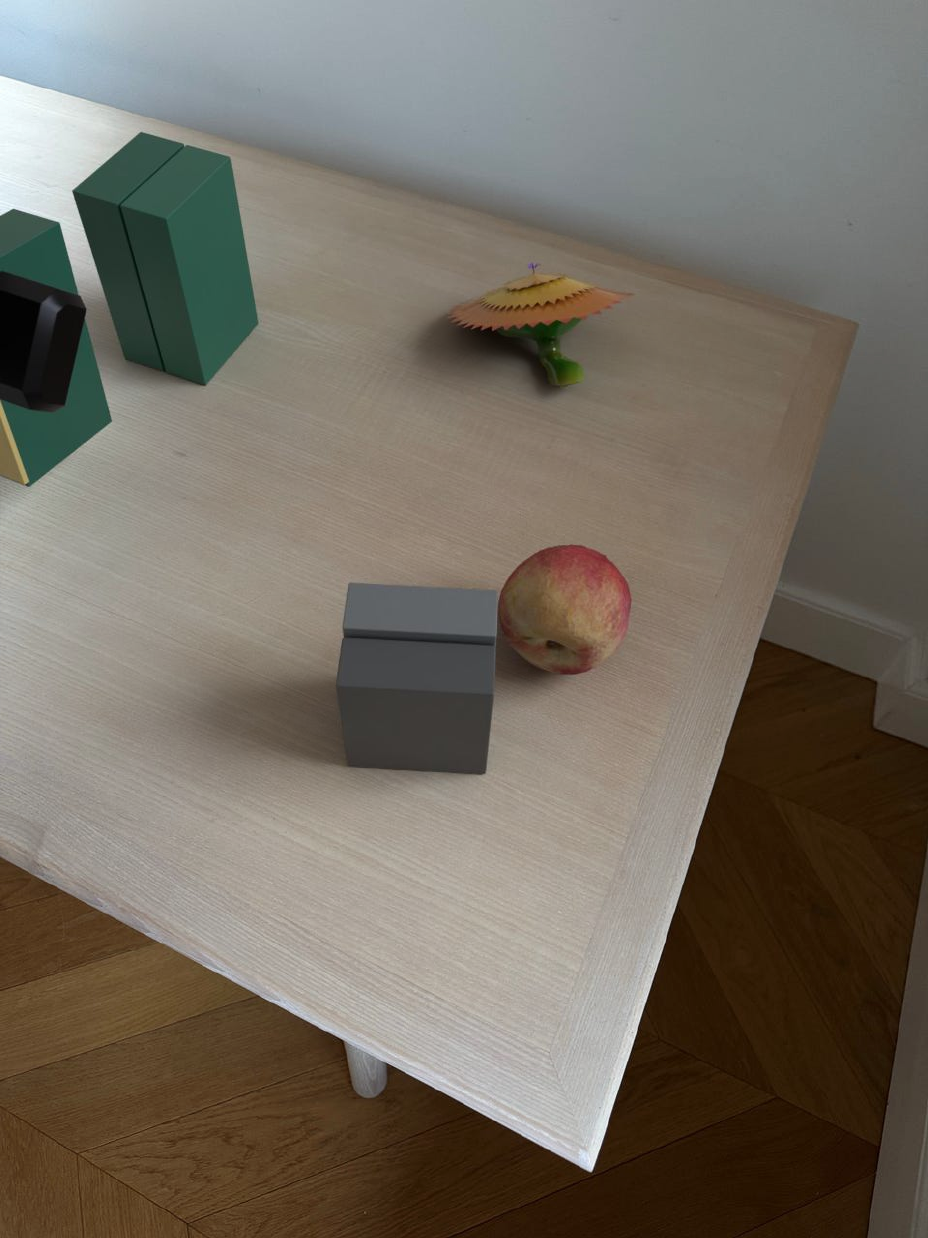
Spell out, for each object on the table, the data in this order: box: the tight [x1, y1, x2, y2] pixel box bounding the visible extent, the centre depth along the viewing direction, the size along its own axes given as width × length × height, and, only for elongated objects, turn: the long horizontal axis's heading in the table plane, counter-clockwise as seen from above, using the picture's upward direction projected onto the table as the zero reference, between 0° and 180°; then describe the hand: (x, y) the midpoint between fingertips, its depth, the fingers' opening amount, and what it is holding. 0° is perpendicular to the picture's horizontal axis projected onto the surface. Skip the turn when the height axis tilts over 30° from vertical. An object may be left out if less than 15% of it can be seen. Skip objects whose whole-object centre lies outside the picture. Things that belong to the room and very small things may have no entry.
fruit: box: [497, 543, 632, 676], centre depth 60 cm, size 8×8×8 cm
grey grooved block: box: [335, 582, 499, 775], centre depth 56 cm, size 8×6×10 cm
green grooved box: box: [71, 131, 259, 386], centre depth 73 cm, size 8×7×14 cm
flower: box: [446, 262, 634, 387], centre depth 78 cm, size 15×13×8 cm
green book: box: [0, 208, 113, 488], centre depth 61 cm, size 8×4×14 cm, turn 153°
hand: (22, 330), depth 61 cm, fingers closed on green book, 4 cm apart
